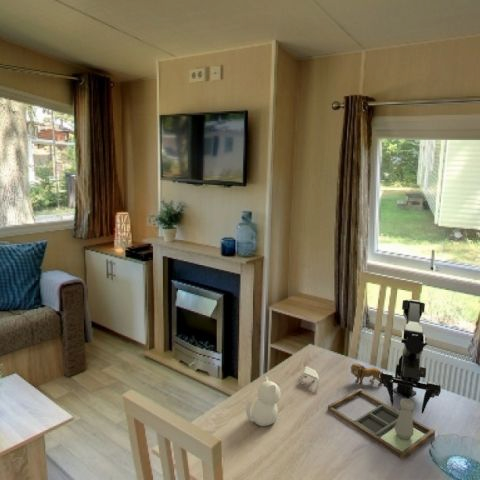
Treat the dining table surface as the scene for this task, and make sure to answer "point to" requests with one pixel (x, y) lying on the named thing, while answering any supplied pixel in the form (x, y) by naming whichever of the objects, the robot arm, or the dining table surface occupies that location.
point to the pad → (400, 443)
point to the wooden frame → (402, 455)
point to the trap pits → (378, 420)
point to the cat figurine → (265, 404)
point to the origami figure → (310, 373)
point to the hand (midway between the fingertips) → (407, 409)
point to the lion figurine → (365, 373)
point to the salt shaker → (405, 420)
